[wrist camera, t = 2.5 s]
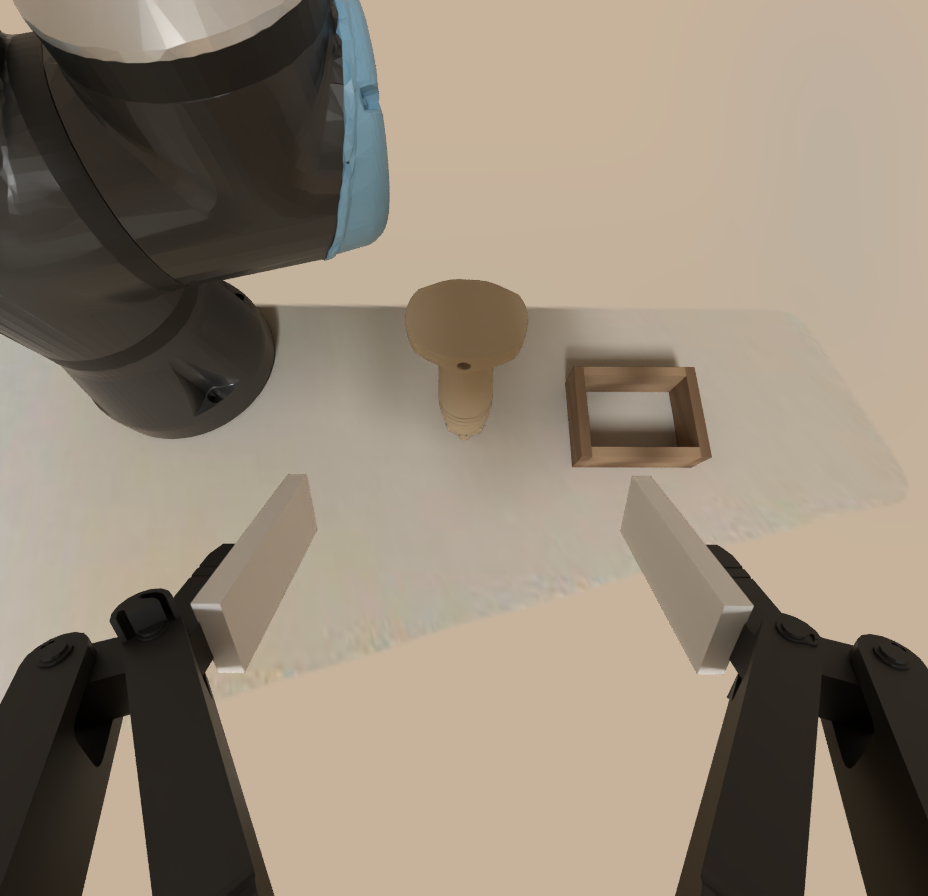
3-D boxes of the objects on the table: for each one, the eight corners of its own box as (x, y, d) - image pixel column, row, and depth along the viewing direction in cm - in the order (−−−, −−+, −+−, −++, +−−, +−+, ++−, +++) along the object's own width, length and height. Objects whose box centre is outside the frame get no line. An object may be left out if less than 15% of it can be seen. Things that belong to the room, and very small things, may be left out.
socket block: (572, 467, 35) (582, 456, 32) (565, 383, 37) (573, 366, 34) (691, 467, 35) (711, 457, 32) (676, 383, 37) (694, 367, 34)
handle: (430, 396, 37) (410, 276, 22) (503, 400, 37) (528, 282, 22) (425, 447, 35) (400, 354, 21) (501, 452, 35) (527, 361, 21)
